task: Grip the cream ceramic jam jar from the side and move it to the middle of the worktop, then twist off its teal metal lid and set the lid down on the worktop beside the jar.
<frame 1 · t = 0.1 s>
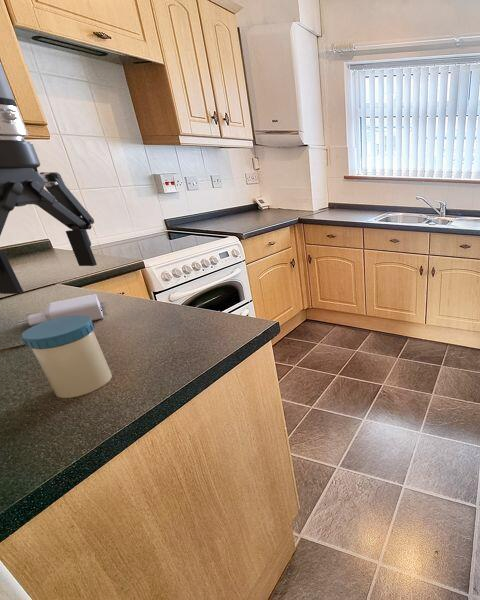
hand: (54, 277, 57), 20 cm above the table, tool pointing down, fingers open, 13 cm apart
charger: (65, 323, 84), on the table
lid: (58, 328, 57), point 12 cm above the table, screwed on, not yet turned
jar: (84, 383, 62), on the table
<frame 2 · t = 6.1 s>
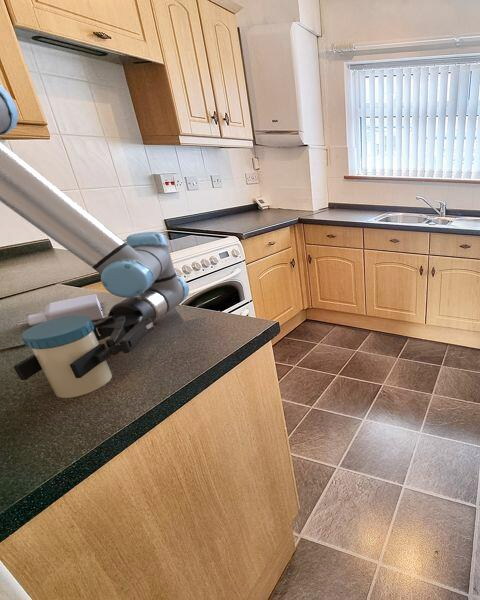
hand: (47, 372, 55), 6 cm above the table, tool horizontal, fingers closed on jar, 8 cm apart
jar: (84, 383, 62), on the table, touching gripper
everything else where it was.
when the fingers open (6 cm above the table, at t = 14.0 s): jar stays where it is, on the table.
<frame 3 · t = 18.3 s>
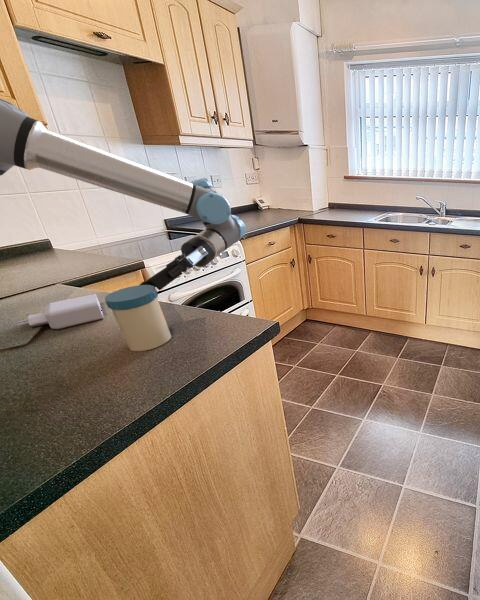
hand: (139, 293, 76), 10 cm above the table, tool horizontal, fingers open, 13 cm apart
lid: (131, 294, 70), point 12 cm above the table, screwed on, not yet turned, touching gripper
jar: (150, 341, 76), on the table
everything else where it was.
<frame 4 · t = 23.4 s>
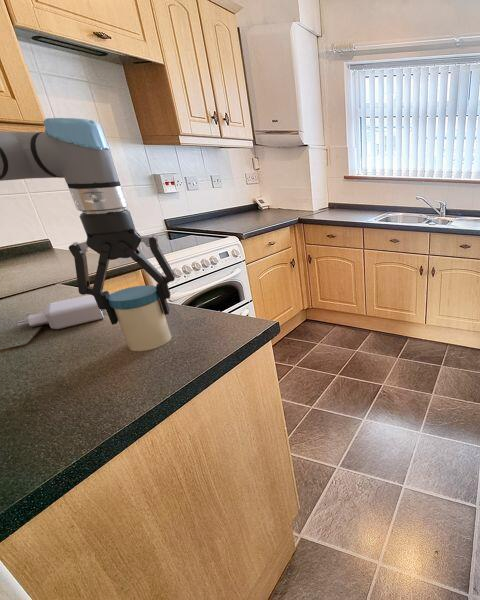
hand: (142, 316, 73), 6 cm above the table, tool pointing down, fingers closed on lid, 9 cm apart
lid: (134, 294, 71), point 12 cm above the table, screwed on, not yet turned, touching gripper
everything else where it was.
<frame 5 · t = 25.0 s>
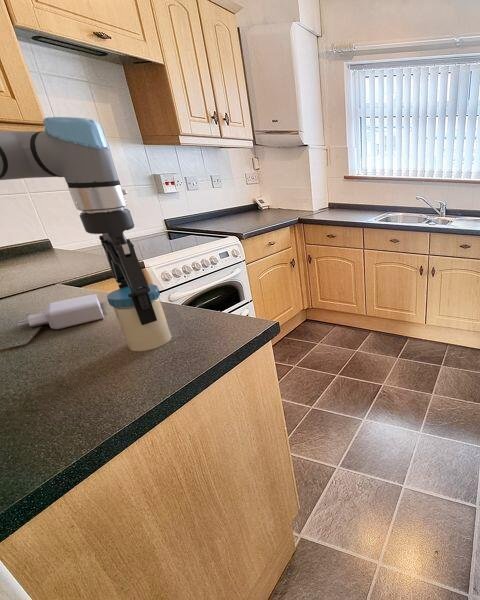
hand: (142, 316, 73), 6 cm above the table, tool pointing down, fingers closed on lid, 9 cm apart
lid: (133, 293, 71), point 12 cm above the table, off its thread, touching gripper
everything else where it was.
when the fingers open (0 cm above the table, at t = 32.5 s): lid drops 4 cm, point 1 cm above the table.
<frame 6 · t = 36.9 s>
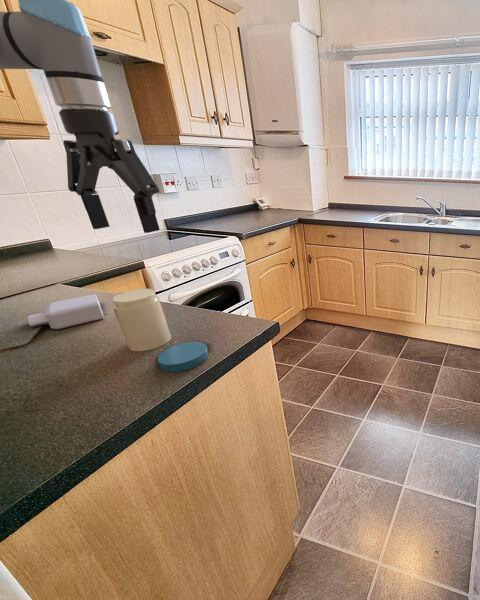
hand: (126, 229, 68), 25 cm above the table, tool pointing down, fingers open, 13 cm apart
lid: (183, 354, 68), point 1 cm above the table, off its thread
everything else where it was.
at the end: jar inside the target area (0.0 cm from its centre), on the table; lid inside the target area (0.1 cm from its centre), point 1.4 cm above the table; the gripper is holding nothing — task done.
